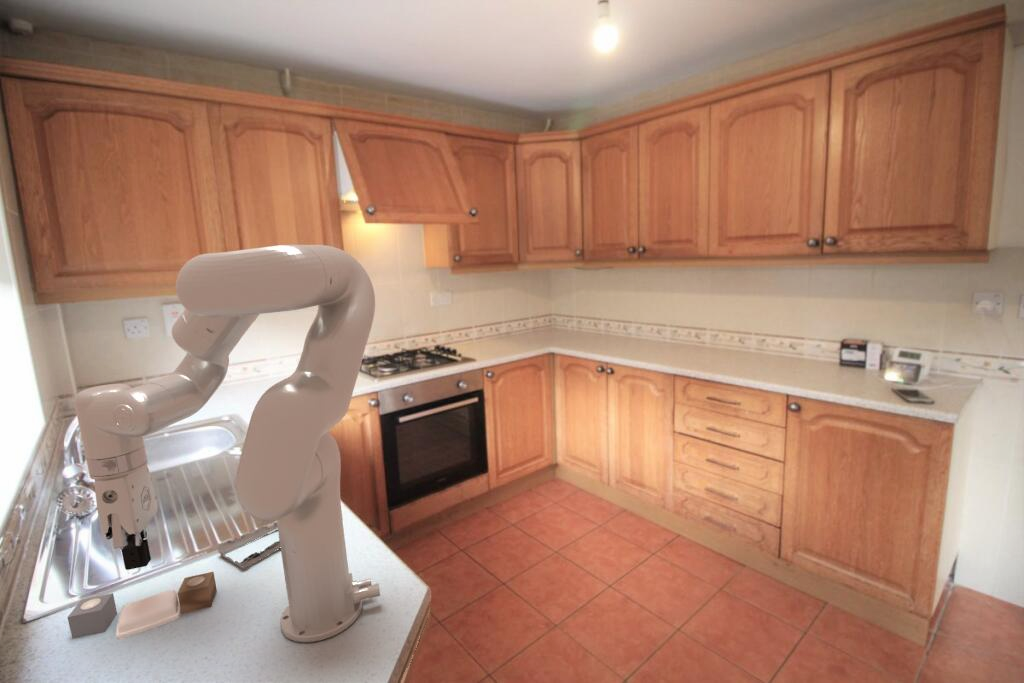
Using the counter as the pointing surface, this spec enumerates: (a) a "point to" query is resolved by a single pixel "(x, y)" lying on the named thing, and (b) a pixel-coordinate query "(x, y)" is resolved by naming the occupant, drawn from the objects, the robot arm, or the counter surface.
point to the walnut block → (197, 592)
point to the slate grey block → (92, 615)
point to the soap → (148, 614)
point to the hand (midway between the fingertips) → (138, 565)
